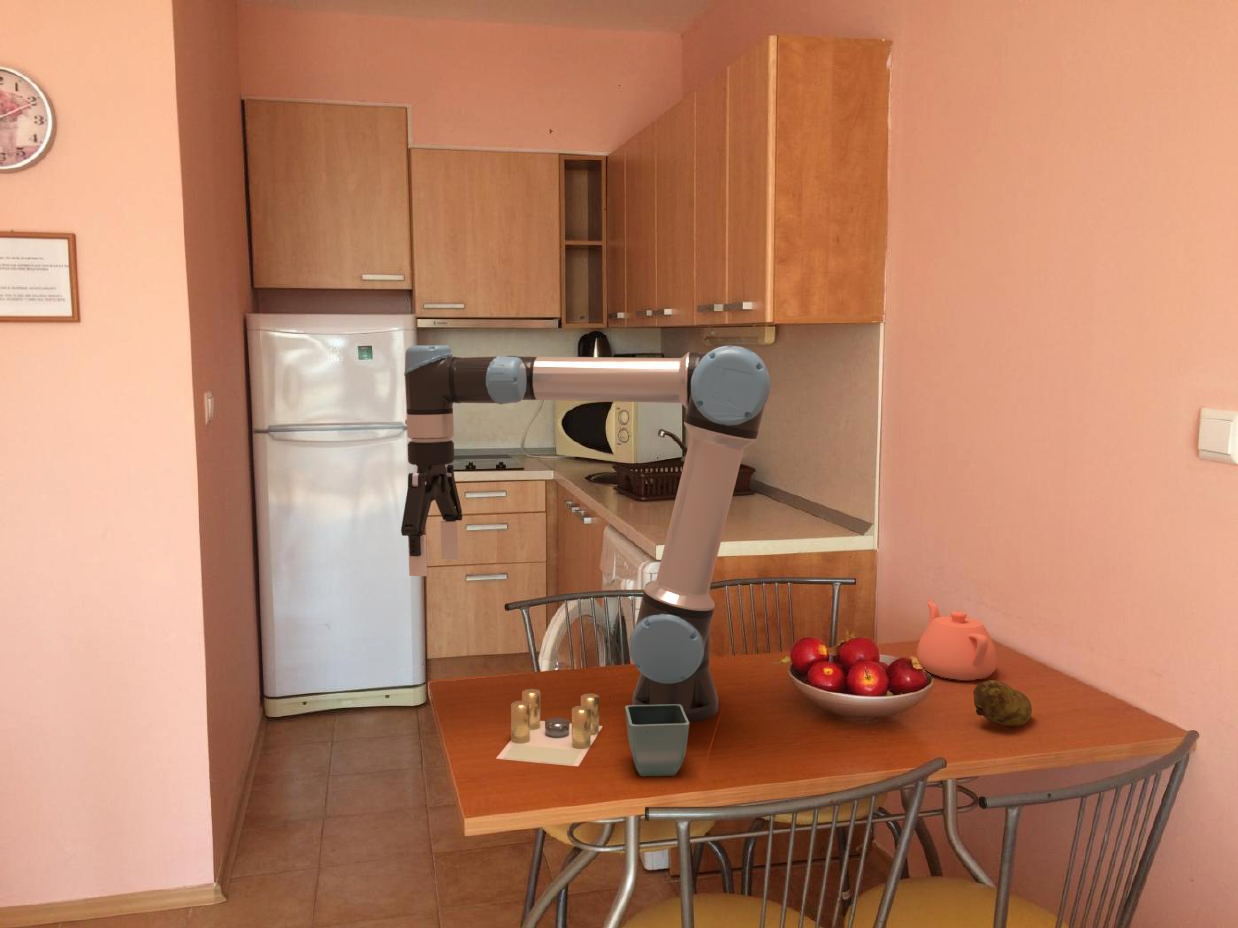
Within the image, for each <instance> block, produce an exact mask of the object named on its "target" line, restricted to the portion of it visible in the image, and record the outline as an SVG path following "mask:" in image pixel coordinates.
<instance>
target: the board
mask: <svg viewBox="0 0 1238 928" xmlns="http://www.w3.org/2000/svg"><path fill="white" fill-rule="evenodd" d="M545 721H546V720H540V728H539V729H536V730H530V741H529V742H527V743H522V744H518V743H513V742H512V741H511V740H510V741H509V742H508V743H507V744H506V745H505V747H504V748H503V749H502V750H501V751H500V753H499V754H498V755H497V756H496V758H495V759H497V760H504V761H506V760H507V761H515V762H526V763H538V764H548V765H549V764H550V765H556V766H557V765H559V766H567V767H568V766H569V767H579V766H580V765H581V763H582V761H583V759H584V758H585V756H586V754H587V753H588V751H589V750H590V748H591V746H592V745H593V742H594V741H595V740H596V738H597V737H598V735H599V733H600V732H601V730H602V728H603V725H599V733H598V734H596V735H591V746H590V747H589V748H587V749H576V748H573V747H572V722H569V735H568V736H567V737H564V738H550V737H547V736H546V735H545Z"/></svg>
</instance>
